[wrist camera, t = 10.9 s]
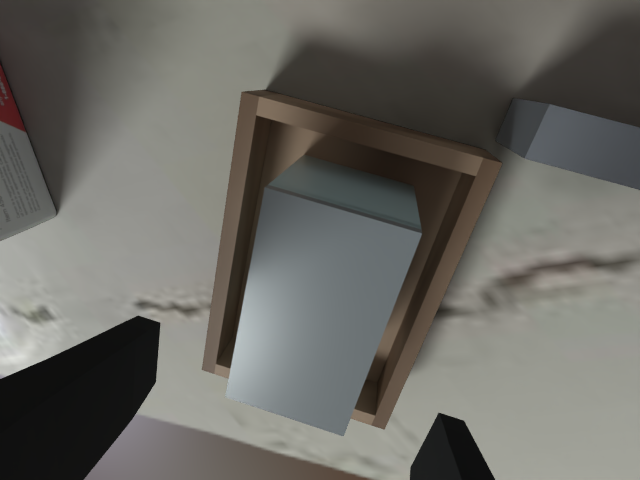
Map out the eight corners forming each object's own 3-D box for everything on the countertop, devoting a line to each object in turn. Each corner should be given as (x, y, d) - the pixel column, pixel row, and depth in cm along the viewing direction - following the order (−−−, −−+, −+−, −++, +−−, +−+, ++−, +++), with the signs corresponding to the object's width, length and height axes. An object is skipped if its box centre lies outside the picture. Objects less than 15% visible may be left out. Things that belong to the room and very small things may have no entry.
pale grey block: (414, 185, 15) (422, 233, 10) (356, 346, 18) (343, 436, 14) (303, 154, 15) (264, 187, 11) (267, 318, 18) (225, 396, 14)
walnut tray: (485, 149, 14) (502, 163, 12) (385, 388, 19) (384, 429, 17) (265, 89, 15) (241, 92, 13) (223, 336, 20) (201, 369, 18)
